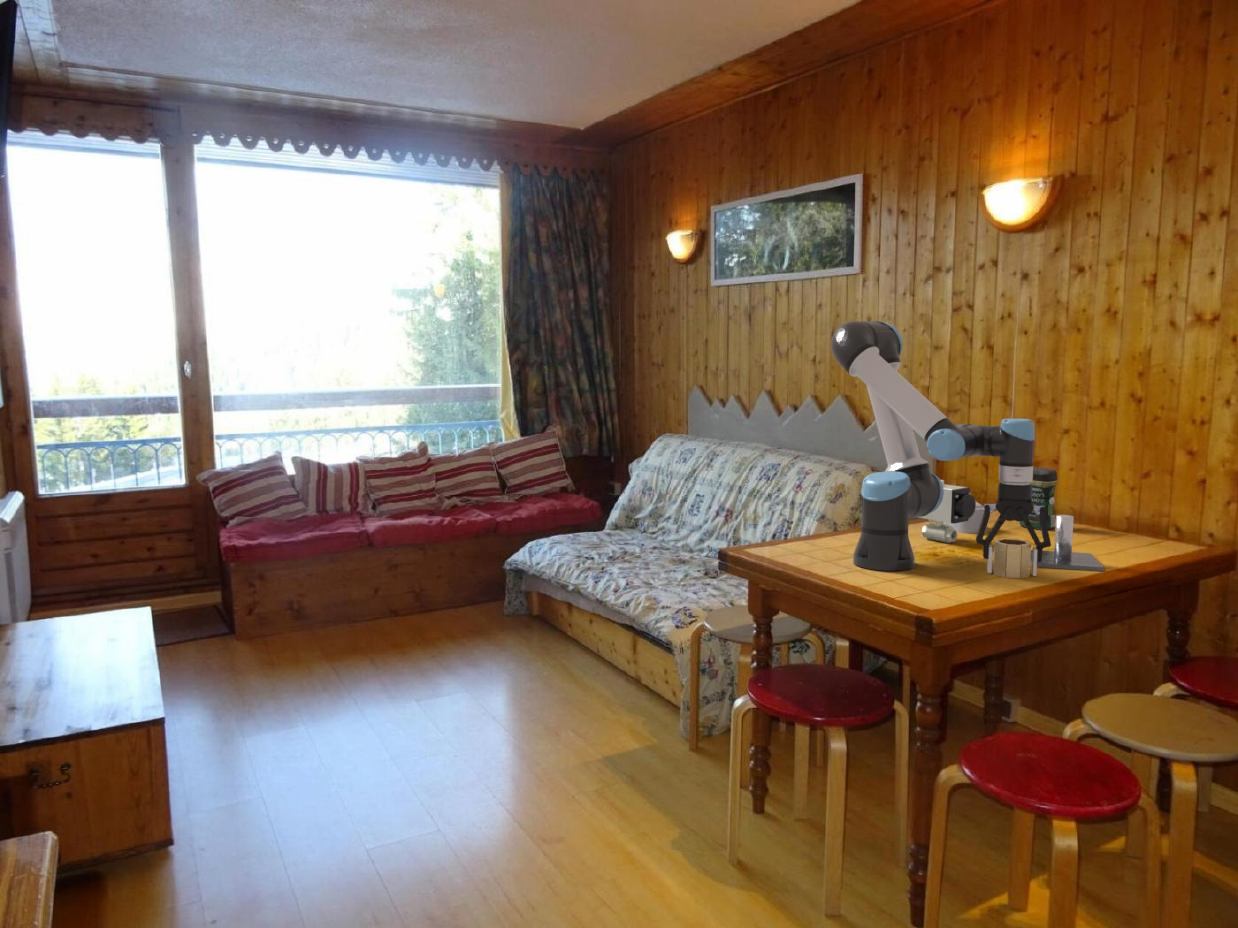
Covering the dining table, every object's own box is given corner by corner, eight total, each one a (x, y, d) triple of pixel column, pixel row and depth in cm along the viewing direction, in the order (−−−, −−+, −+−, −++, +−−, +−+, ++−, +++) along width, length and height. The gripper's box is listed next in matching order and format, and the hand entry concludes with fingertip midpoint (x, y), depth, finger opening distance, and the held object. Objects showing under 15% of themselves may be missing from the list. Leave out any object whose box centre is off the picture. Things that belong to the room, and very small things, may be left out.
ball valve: (977, 543, 251) (980, 481, 249) (960, 548, 246) (962, 484, 244) (922, 533, 265) (924, 475, 263) (904, 537, 260) (906, 477, 258)
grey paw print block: (965, 534, 265) (966, 505, 263) (933, 526, 276) (934, 499, 275) (991, 531, 269) (992, 503, 268) (959, 523, 280) (960, 496, 279)
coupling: (994, 576, 215) (996, 544, 214) (991, 569, 222) (993, 537, 221) (1030, 579, 212) (1032, 546, 211) (1026, 571, 220) (1028, 539, 219)
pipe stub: (1032, 566, 224) (1035, 520, 222) (1024, 553, 239) (1026, 509, 237) (1103, 571, 219) (1106, 523, 217) (1090, 556, 234) (1093, 512, 233)
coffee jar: (1015, 526, 274) (1018, 467, 272) (1027, 523, 280) (1030, 465, 277) (1047, 531, 267) (1050, 470, 265) (1058, 527, 272) (1061, 468, 270)
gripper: (967, 483, 214) (964, 573, 217) (1068, 486, 207) (1063, 579, 210) (965, 479, 221) (962, 566, 224) (1063, 482, 215) (1058, 572, 217)
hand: (1011, 573), depth 217 cm, fingers open, 9 cm apart
